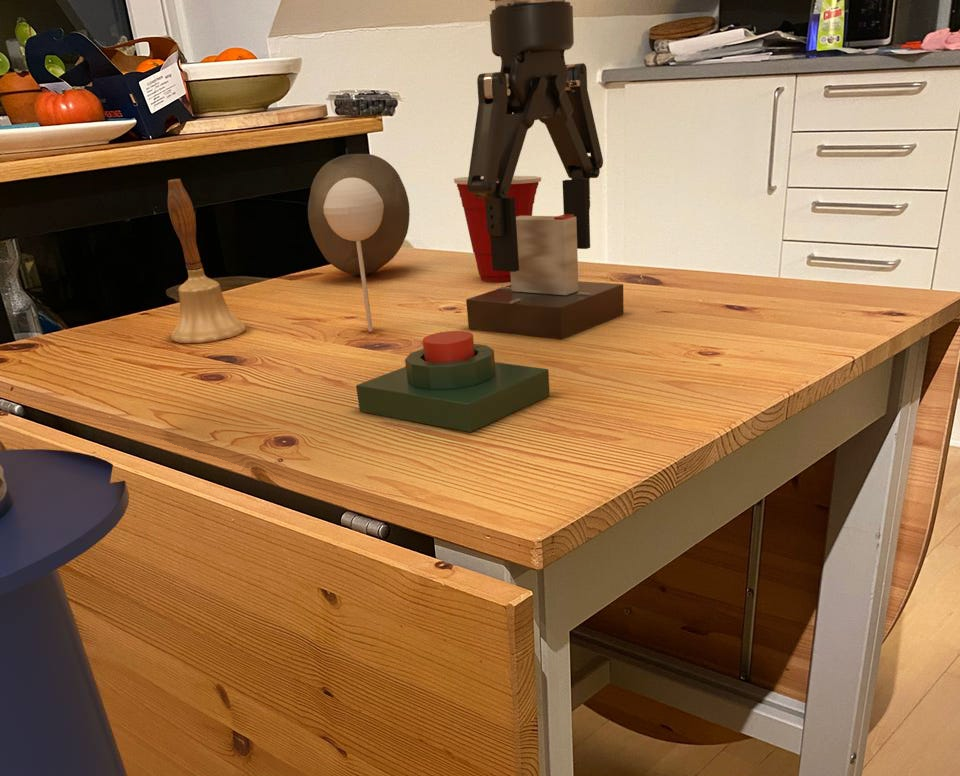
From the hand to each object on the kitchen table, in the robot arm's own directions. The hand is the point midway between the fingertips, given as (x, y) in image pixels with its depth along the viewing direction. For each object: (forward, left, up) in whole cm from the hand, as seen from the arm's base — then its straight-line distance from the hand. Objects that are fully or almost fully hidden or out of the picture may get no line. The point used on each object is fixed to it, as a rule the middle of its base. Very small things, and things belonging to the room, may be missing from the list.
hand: (543, 259), depth 99 cm
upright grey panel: (0, 0, -3) cm, 3 cm away
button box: (+10, -26, -6) cm, 29 cm away
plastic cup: (-20, +18, -6) cm, 28 cm away
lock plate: (0, 0, -6) cm, 6 cm away
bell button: (+10, -26, -3) cm, 28 cm away
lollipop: (-16, -10, -6) cm, 20 cm away
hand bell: (-34, -18, -6) cm, 39 cm away
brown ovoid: (-41, +14, -6) cm, 44 cm away
